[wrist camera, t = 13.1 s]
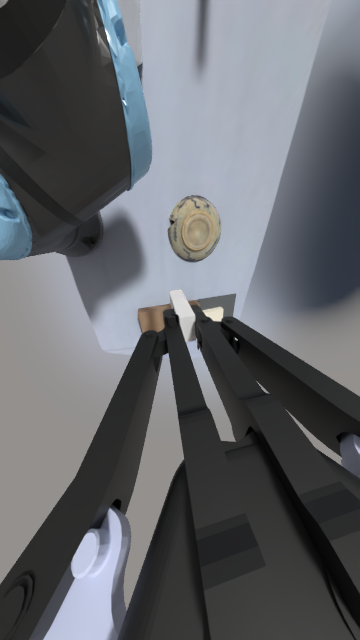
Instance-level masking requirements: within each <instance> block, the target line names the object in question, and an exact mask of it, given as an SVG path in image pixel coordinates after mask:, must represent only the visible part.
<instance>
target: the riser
mask: <svg viewBox="0 0 360 640" xmlns="http://www.w3.org/2000/svg"><path fill="white" fill-rule="evenodd" d="M188 303H189V305H198V306H200V304H199V303H198V301H197V300H192V301H188ZM167 309H171V304H167V305H160V306H154V307H147V308H141V309H138V318H139V321H140V325H141V328H142V332H143V333H144V332H145V331H148V330H154V331H156V332H159V331H161V330H163V329H164V327H165V326H164V320H163V311H164V310H167ZM196 338H197V337H196Z"/></svg>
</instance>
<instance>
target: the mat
mask: <svg viewBox="0 0 360 640" xmlns="http://www.w3.org/2000/svg"><path fill="white" fill-rule="evenodd" d="M235 298H236V294H231V295H225V296H218V297H212V298H205V299H199V300H198V303H199V304H200V308H201V309H202V310H207V309H212V308H217V307H222V308H223V317H227V316H230V317H233V311H234V305H235Z"/></svg>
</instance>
